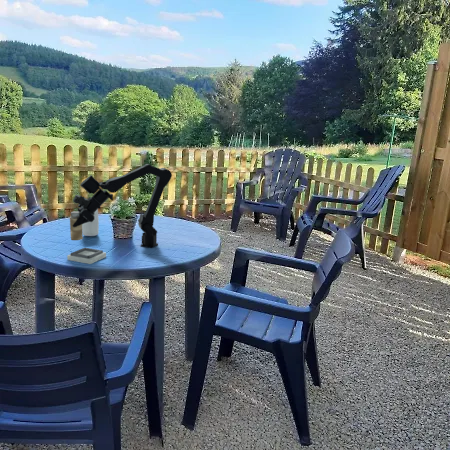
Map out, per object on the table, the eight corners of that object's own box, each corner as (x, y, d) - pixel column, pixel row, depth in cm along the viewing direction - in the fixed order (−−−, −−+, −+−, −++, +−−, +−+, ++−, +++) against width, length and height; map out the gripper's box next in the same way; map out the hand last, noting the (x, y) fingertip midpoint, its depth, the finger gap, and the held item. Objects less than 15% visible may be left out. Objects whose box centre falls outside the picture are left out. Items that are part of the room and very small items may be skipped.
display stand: (106, 256, 190) (105, 250, 189) (90, 264, 180) (90, 257, 179) (83, 253, 194) (83, 246, 193) (67, 259, 184) (67, 253, 183)
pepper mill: (85, 238, 197) (84, 212, 194) (77, 241, 192) (76, 214, 189) (75, 236, 198) (74, 210, 196) (68, 239, 194) (66, 212, 191)
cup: (89, 239, 215) (88, 212, 212) (78, 236, 220) (77, 209, 216) (102, 236, 222) (101, 209, 219) (92, 233, 227) (91, 207, 223)
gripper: (82, 185, 199) (58, 209, 198) (85, 192, 183) (59, 218, 181) (99, 201, 204) (76, 224, 203) (104, 209, 188) (79, 234, 186)
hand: (72, 225), depth 193 cm, fingers closed on pepper mill, 5 cm apart
